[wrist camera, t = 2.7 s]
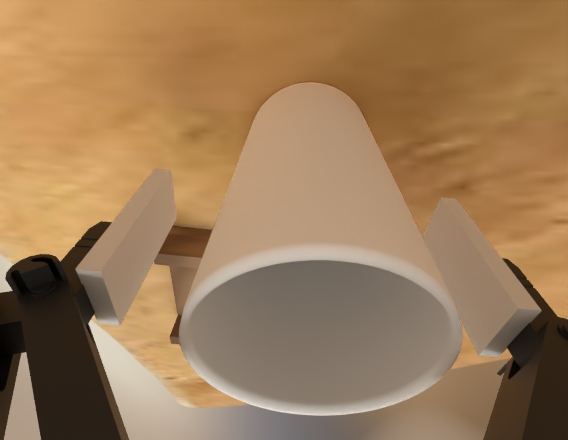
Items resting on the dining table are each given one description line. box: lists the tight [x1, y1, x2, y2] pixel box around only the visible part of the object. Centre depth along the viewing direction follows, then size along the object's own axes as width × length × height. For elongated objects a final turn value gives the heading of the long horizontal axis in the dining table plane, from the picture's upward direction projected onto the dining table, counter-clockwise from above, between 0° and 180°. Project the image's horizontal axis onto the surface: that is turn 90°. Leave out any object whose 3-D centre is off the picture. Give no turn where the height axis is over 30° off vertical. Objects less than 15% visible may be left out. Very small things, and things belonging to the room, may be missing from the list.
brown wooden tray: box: [154, 226, 212, 344], centre depth 30 cm, size 16×12×4 cm
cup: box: [179, 82, 463, 415], centre depth 16 cm, size 8×8×16 cm
